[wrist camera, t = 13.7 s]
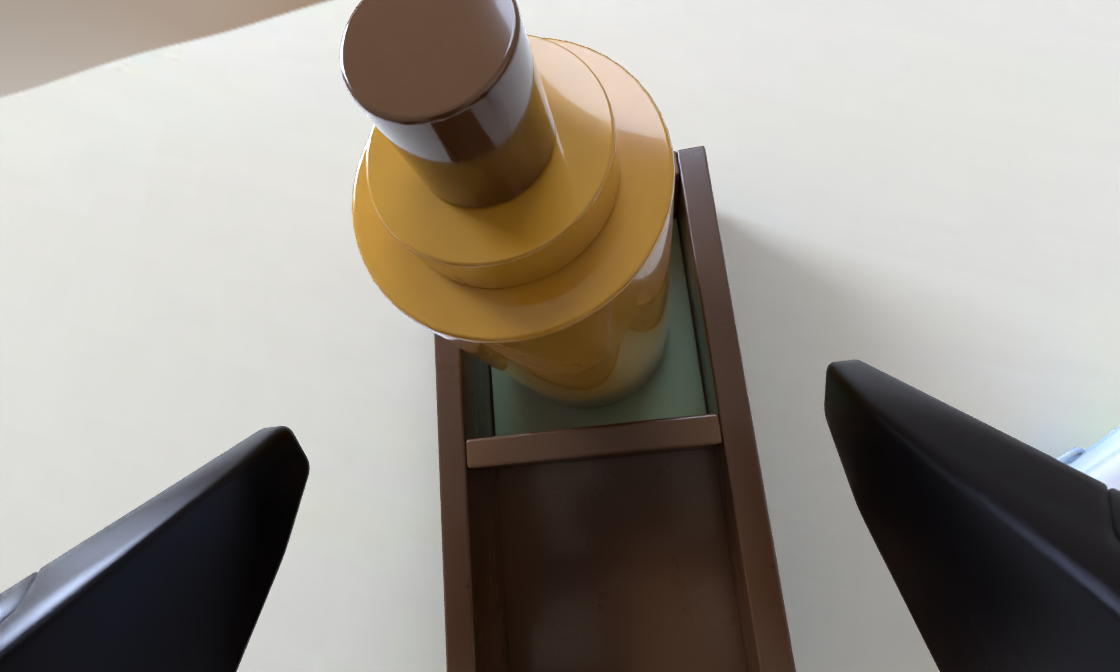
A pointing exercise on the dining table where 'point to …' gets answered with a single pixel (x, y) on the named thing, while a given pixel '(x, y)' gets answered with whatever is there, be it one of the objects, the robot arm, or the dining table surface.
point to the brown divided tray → (615, 500)
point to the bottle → (513, 194)
